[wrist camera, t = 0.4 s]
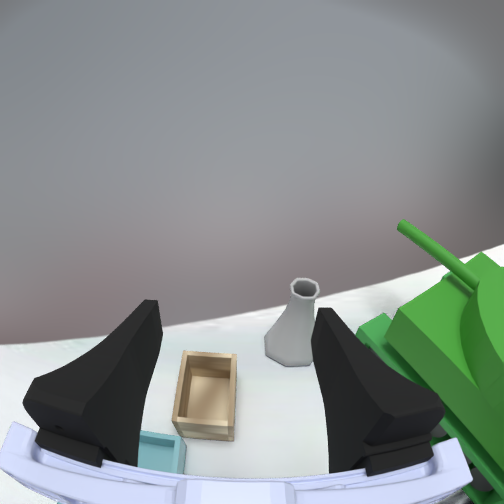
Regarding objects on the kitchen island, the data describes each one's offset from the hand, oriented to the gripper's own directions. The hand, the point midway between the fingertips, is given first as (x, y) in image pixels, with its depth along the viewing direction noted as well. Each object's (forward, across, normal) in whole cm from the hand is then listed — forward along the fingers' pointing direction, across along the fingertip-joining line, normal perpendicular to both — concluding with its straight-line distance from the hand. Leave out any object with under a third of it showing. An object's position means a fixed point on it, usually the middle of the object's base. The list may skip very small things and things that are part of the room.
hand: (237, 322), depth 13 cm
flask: (+17, -7, +18) cm, 26 cm away
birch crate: (+8, +3, +20) cm, 21 cm away
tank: (+9, -30, +19) cm, 37 cm away
